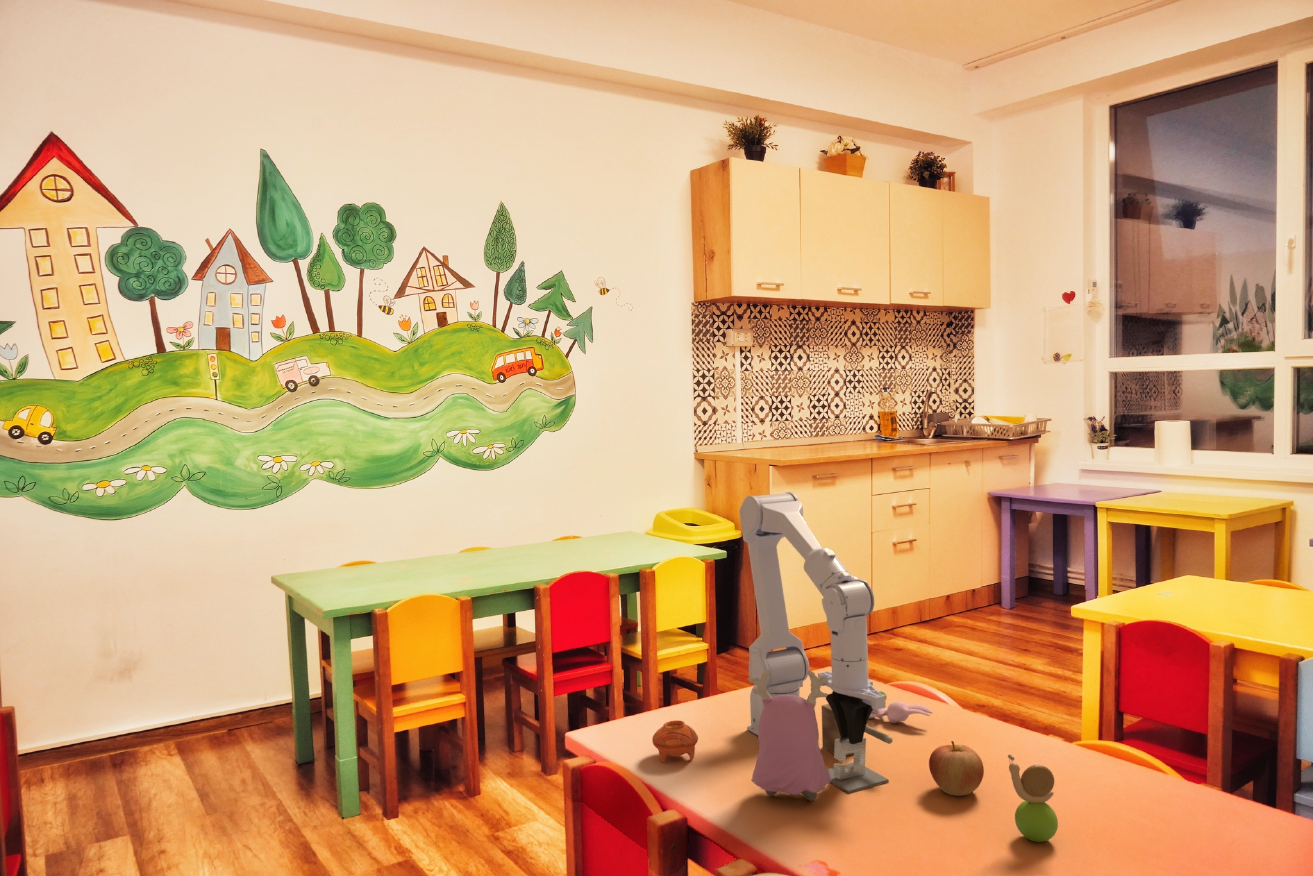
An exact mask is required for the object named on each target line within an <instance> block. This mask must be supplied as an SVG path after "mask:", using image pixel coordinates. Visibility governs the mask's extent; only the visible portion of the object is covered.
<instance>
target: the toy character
mask: <svg viewBox="0 0 1313 876" xmlns="http://www.w3.org/2000/svg"><path fill="white" fill-rule="evenodd" d="M769 674H770V670H767V671H766V672H764V673H762V675H761V678H760V680H758V679H757V678H751V677H750V676H748V677H747V681H748V682H749V683H751V684H754V685H755V684H756V685H757V689H752V688H751V691H753V692H754V693H755V694H758V695H759V696H761V697H762V698H763V699H762V701H763V705H764V706H763V710H762V713H761V715H760V719H759V724H758V735H757V737H758V743H759V749H758V755H757V758H756V761H755V764H754V765H755V766H754V769H753V773H752V778H751V780H750V781H751V782H753V784H754V785H756V786H757V787H758V788H760V789H761V790H763V791H765V793H766V795H767V796H768V797H773V796H775V795H776V794H778V793H782V794H783V793H784V794H789V795H792V796H799V795H800V794H801V795H802V796H803V797H804V798H805V799H806V800H808V802H813V801H814V800H815V799H816V798H817V793H819V792H821V791H822V790H825V789H826V786H827V785H828V784H830V781H831V778H830V774H829V771H828V770H827V769H828V768H827V767H826V764H825V761H824V758H823V754H822V751H821V749H820V748H821V747H820V745H819V739H820V736H819V735H820V732H819V726H818V721H817V717H816V710H815V709H816V708H815V707H816V704H817V699H818V698H826V697H827V696H828V694H829V693H825V692H822V691H821V688H822V687H823V686H822V685H823V684H825V683H827V682H828V681H829V679H828V677H827V676H825V675H823V676H822V677H821V678H820V679H819V680H818V675H817V676H816V674H815V672H814V671H812V670H810V669H809V670H808V672H807V674H808V677H809V679H810V693H809V694H808V695H807V698H806V699H805V698H804V697H802V696H801V695H800V696H796V695H789V694H785V695H778V696H776V697H773V696H771V695H770V694H769V692H768V691H767V688H766V679H767V677H768V676H769ZM821 686H822V687H821Z"/></svg>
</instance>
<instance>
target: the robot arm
mask: <svg viewBox="0 0 1313 876" xmlns="http://www.w3.org/2000/svg"><path fill="white" fill-rule="evenodd" d="M738 513H739V514H738V515H739V519H740V520H739V521H740V528H741V534H742V539H743V542H745V543H746V544H747V548H748V555H749V561H750V569H751V575H752V576H751V577H752V582H753V589H754V596H755V603H756V610H757V617H758V622H759V631H760V634H759V636H758V637H757V638H756V640H754V641H753V643H751V645H750V646H749V647H748V652H749V663H748V672H749V677H751V678H757V679H758V680H760V678H761V675H762V673H764V672H766V671H767V670H770V674H769V676H768V677H767V679H766V688H767V691H768V692H769V694H770V695H771V696H773V697H776V696H778V695H785V694H789V695H796V696H800V697H801V695H800V688H803V687H804V682H805V681H806V680H807V679H808V677H809V675H808V674H807V672H808V670H810V663H809V659H808V656H807V654H806V652H805V648H804V646H803V640H802V639H800V638H799V637H798V636H796V635H795V634H793V633H792V632H790V628H789V622H788V621H789V619H788V614H787V608H786V603H785V602H786V601H785V594H784V587H783V582H782V576H781V568H780V563H779V555H778V549H777V547H778V544H779V543H780V541H781V539H784V538H786V540H787V541H788V542H789V543H790V544H791V546H792V547H793V548H794V550H795V551H797V553H799V555H800V556H801V557H802V558H803V560H804V563H803V571H804V572H805V573H806V575H807V576H808V578H809V580H811V582H812V583H813V584H814V586H815V587H816V588H817V590H818V591H819V593H820V595H821V596H822V597H823V598H821V604H822V605H821V606H822V608H823V611H824V614H825V616H826V625H827V628H828V629H829V630H830V649H831V650H830V654H831V655H830V657H831V672H830V671H822V672H817V678H818V680H819V679H820V678H821V677H822V676H823V675H825V676H827V677H828V679H829V681H828V682H827V683H825V684H823V685H822V687H823V686H824V687H828V688H830V690H831V693H827V694H828V696H827V697H825V700H826V702H827V704H829V705H830V707H831V709H832V711H833V714H834V716H835V719H836V722H837V726H838V729H839V733H840V736H841V738H845V737H848V739H849V742H850V743H851V744H857V743H860V742H862V740H863V737H865V732H864V731H865V727H866V725H868V724H867V723H868V721H869V719H868V718H869V716H870V714H871V712H872V710H873V709H875V710H878V709H883V708H886V709H887V707H886V704H887V703H886V700H885V695H883V694H881V693H880V692H879V690H878V689H876V688H875V687H874V686H873V685H874V681H873V680H871V679H869V657H868V656H869V653H868V652H869V651H868V619H867V618H868V617H867V616H869V615H871V614H872V613H873V611H874V607H875V596H874V593H873V590H872V588H871V586H870V585H869V582H868V581H866V580H865V579H862V578H858V577H857V576H855V575H851V573H850V572H849V571H848V569H847V568H846V567H845V565H844V564H843V563H842V562H841V560H840V559H839V558H838V556H837V555H836V553H835V552H834V551H833V550H832V549H831V548H828V547H827V548H826V547H825V548H824V547H822V546H821V544H820V543H819V541H818V539H817V538H816V537H815V535H814V534H813V531H812V530H811V529H810V527H809V525H808V524H807V522H806V521H805V518H804V506H803V504H802V502H801V501H800V500H799V497H798V496H797V495H796V494H795V493H794V492H792V491H789V492H785V493H776V494H774V493H772V494H763V495H747V496H746V497H745V498H744V499H743V501H742V503H741V505H740V508H739V512H738ZM752 689H757V685H756V684H754V685H753V686H752V688H751V691H750V693H749V694H750V695H749V704H750V706H749V707H750V708H749V709H750V725H748V726H746V730H748V731H750V732H751V733H753V734H754V735H756V736H758V724H759V719H760V715H761V713H762V710H763V706H764V705H763V701H762V699H763V698H762V697H761V696H759V695H758V694H755V693H754V692H753V691H752Z"/></svg>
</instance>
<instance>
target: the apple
mask: <svg viewBox="0 0 1313 876" xmlns="http://www.w3.org/2000/svg"><path fill="white" fill-rule="evenodd" d="M982 760H983V759H982V758H981V756H979V755H978V753H977V752H976V751H975V750H974V749H973V748H971V747H969V746H967V745H964V744H955V742H954V741H953V740H951V744H945V745H940V746H938V747H937V748H935V749H934V750H933V751H932V753H930V757H929V759H928V768H929V771H930V775H931V777H932V779H933V780H934V782H935V783H936V786H938V787H939V788H940V789H941V791H943V792H944V793H945V794H948V795H950V796H956V797H957V796H959V797H960V796H967V795H970V794H972V793H973V792H975V791H976V790H977V789H978V787H980V785H981V783H982V782H983V778H984V774H985V769H984V768H985V767H984V764H983V763H984V762H983V761H982Z"/></svg>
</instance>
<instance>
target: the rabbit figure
mask: <svg viewBox="0 0 1313 876" xmlns="http://www.w3.org/2000/svg"><path fill="white" fill-rule="evenodd" d="M878 692H880V693H881V694H883V695H885V701H886V700H887V698H888V697H887V696H888V695H887V694H886V693H885V692H884V691H882V690H881V691H879V690H878ZM914 714H921V715H924V716H927V717H931V714H933V711H932V710H931V709H929V708H928V707H927V706H925V705H922V704H907V703H906V702H903V701H893V702H891V703H890V704H888V706H887V707H886V708H882V709H878V710H875V709H873V710H872V712H871V714H870V716H869V718H868V720H869V719H874V718H878V719H882V718H884V717H885V716H886V717H887V720H888V721H889V722H890V723H893V724H896V723H897V724H899V722H905V721H906V720H907V719H909V716H911V715H914Z"/></svg>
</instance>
